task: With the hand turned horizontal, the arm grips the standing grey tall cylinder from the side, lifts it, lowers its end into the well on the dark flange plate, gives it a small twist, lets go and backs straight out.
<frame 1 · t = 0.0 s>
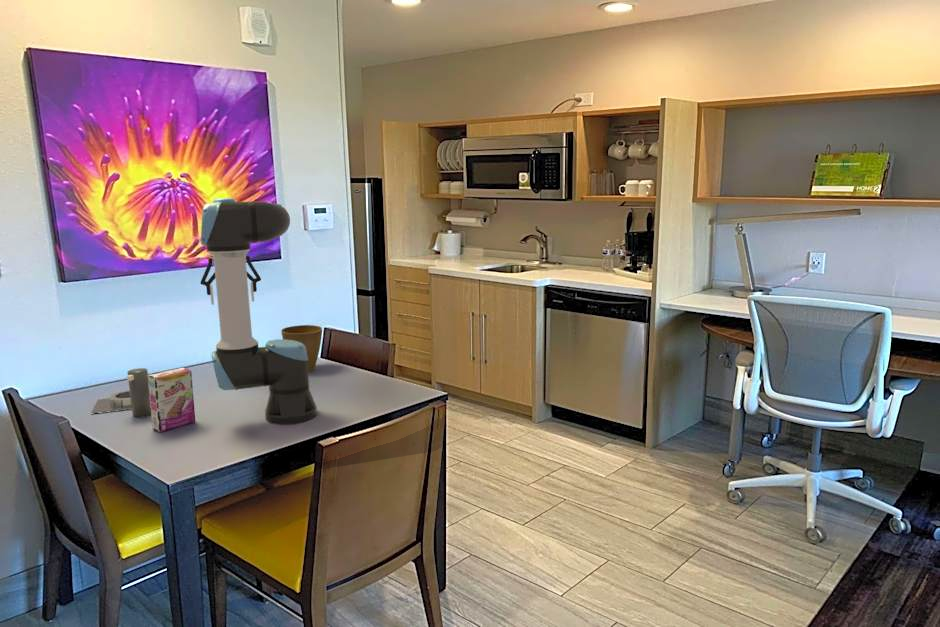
hand: (233, 302, 242), 28 cm above the table, tool pointing down, fingers open, 13 cm apart
grey tall cylinder: (142, 414, 211), on the table
candy bar box: (175, 426, 201), on the table
well: (129, 403, 221), on the table
plant pot: (304, 370, 257), on the table
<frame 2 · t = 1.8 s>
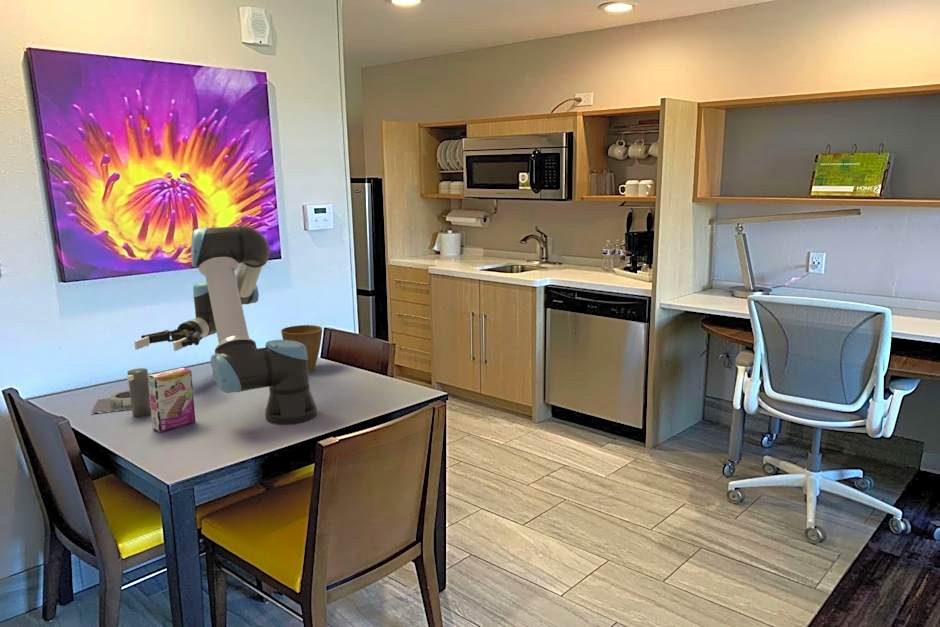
hand: (155, 346, 217), 19 cm above the table, tool horizontal, fingers open, 13 cm apart
nothing on the table moved.
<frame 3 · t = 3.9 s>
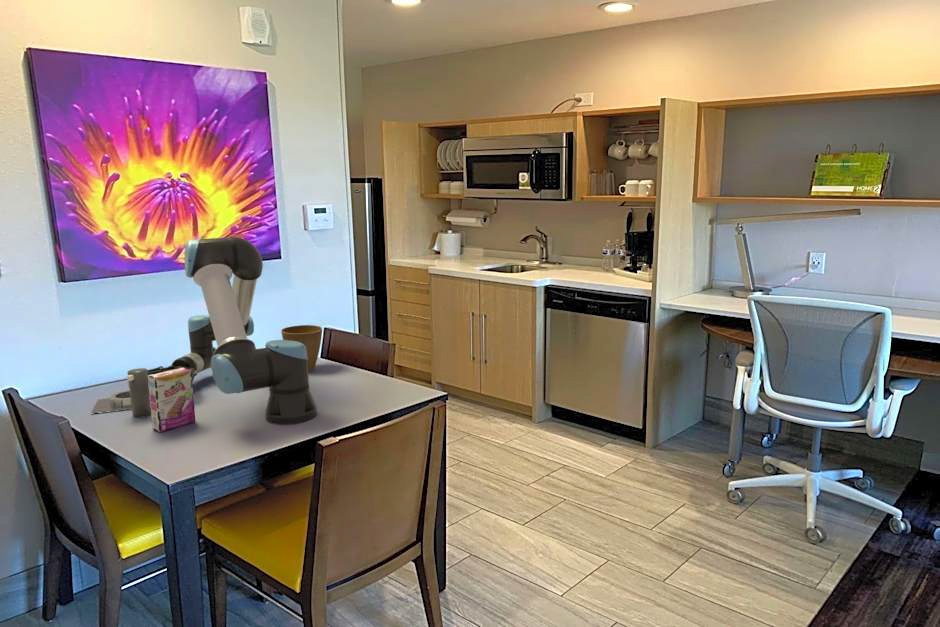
hand: (148, 384, 214), 8 cm above the table, tool horizontal, fingers open, 13 cm apart
nothing on the table moved.
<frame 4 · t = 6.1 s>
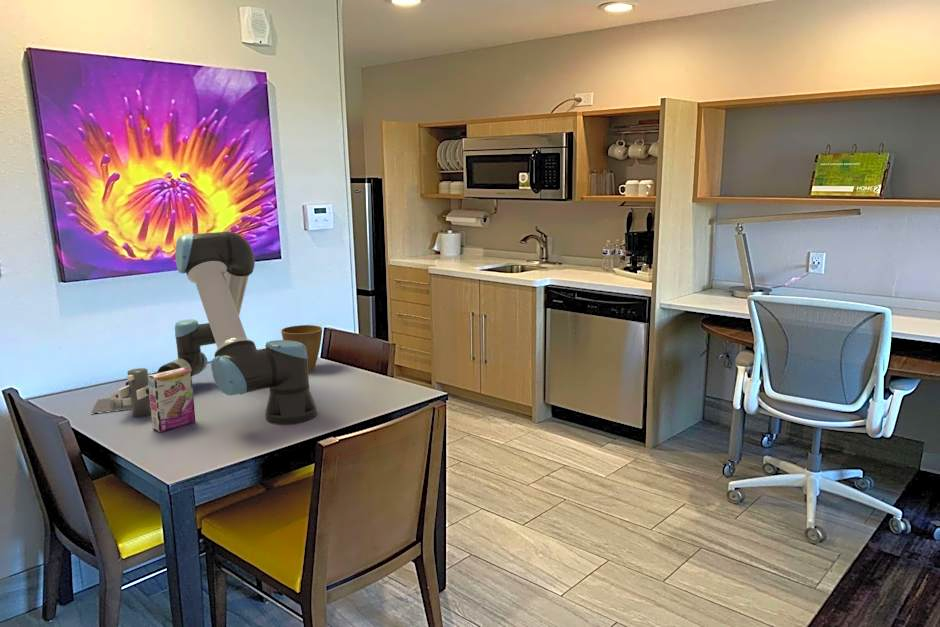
hand: (128, 394, 204), 8 cm above the table, tool horizontal, fingers closed on grey tall cylinder, 5 cm apart
grey tall cylinder: (142, 414, 211), on the table, touching gripper
everything else where it was.
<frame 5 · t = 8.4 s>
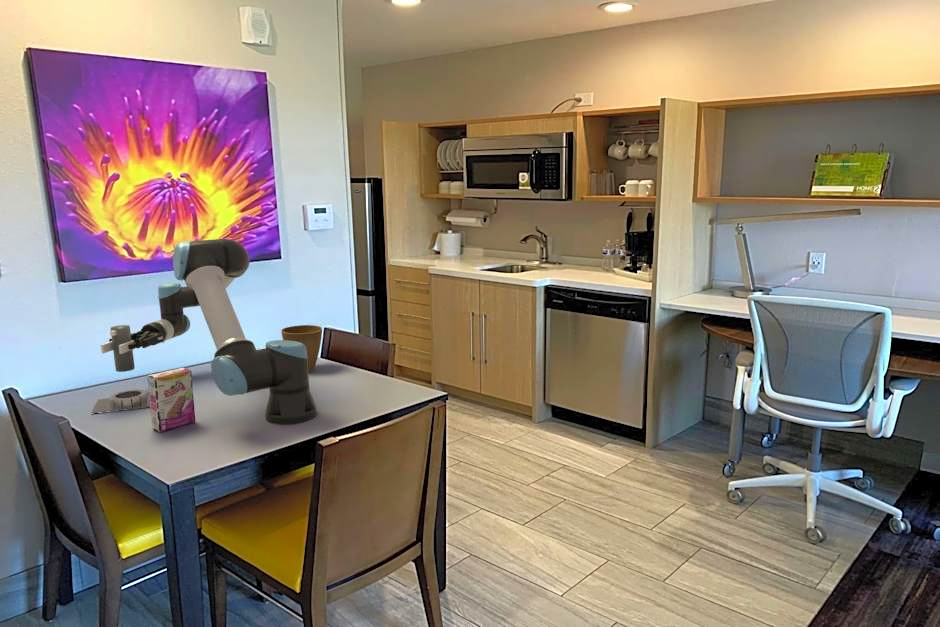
hand: (111, 349, 212), 20 cm above the table, tool horizontal, fingers closed on grey tall cylinder, 5 cm apart
grey tall cylinder: (125, 369, 219), point 12 cm above the table, touching gripper
everything else where it was.
when the fingers open (10 cm above the table, at t = 10.8 s): grey tall cylinder drops 1 cm, resting on well.
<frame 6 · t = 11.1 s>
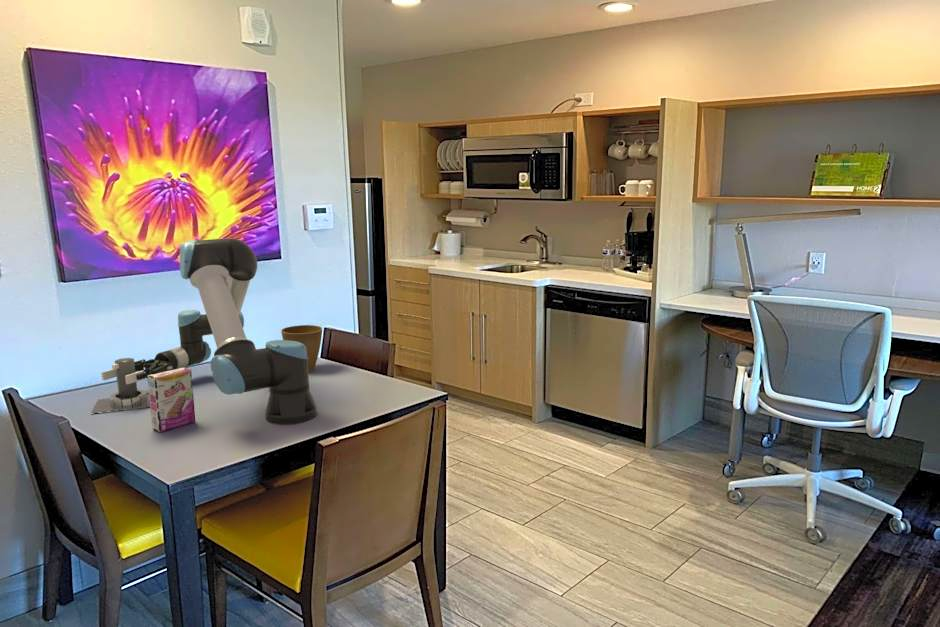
hand: (114, 378, 216), 10 cm above the table, tool horizontal, fingers open, 10 cm apart
grey tall cylinder: (129, 401, 221), point 1 cm above the table, touching well
everything else where it was.
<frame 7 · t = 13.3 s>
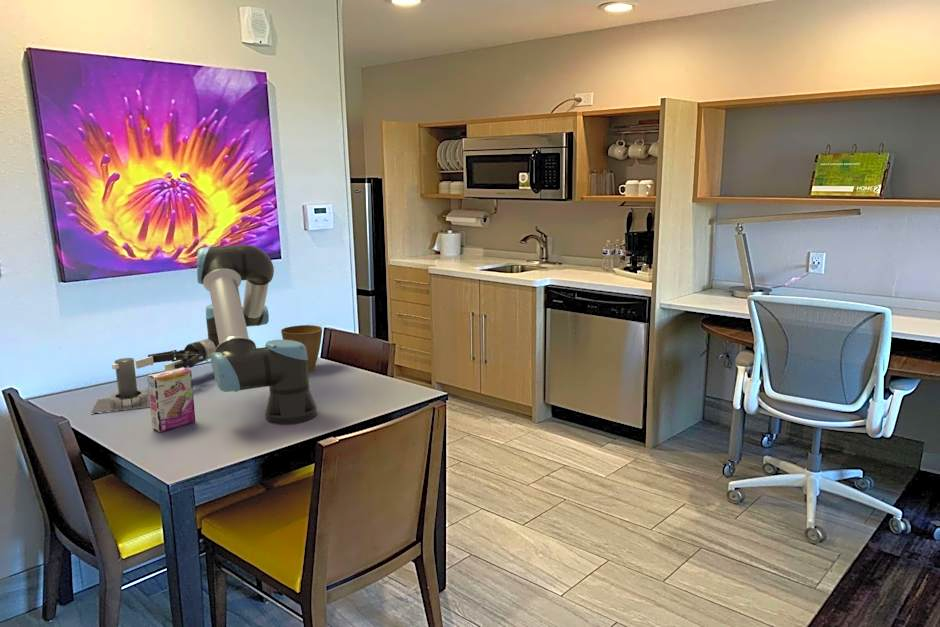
hand: (150, 366, 228), 10 cm above the table, tool horizontal, fingers open, 13 cm apart
nothing on the table moved.
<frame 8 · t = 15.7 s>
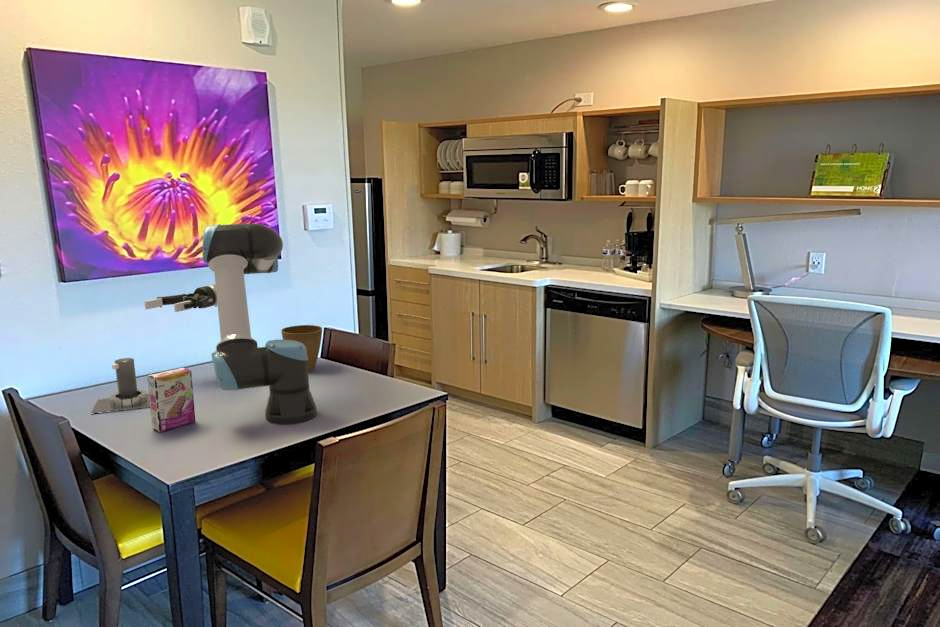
hand: (160, 306, 225), 30 cm above the table, tool horizontal, fingers open, 13 cm apart
nothing on the table moved.
at the end: grey tall cylinder 0.0 cm off-centre on the well, point 0.6 cm above the well's base; grey tall cylinder tilted 0°; the gripper is holding nothing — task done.
